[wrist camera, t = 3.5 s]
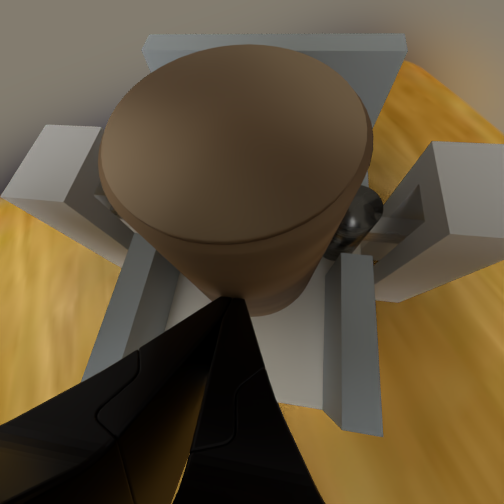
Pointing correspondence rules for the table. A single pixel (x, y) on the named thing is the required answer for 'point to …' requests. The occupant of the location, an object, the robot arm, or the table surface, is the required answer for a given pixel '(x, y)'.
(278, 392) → the channel
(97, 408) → the robot arm
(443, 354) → the table surface
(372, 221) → the plunger
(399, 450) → the table surface
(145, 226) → the peg
